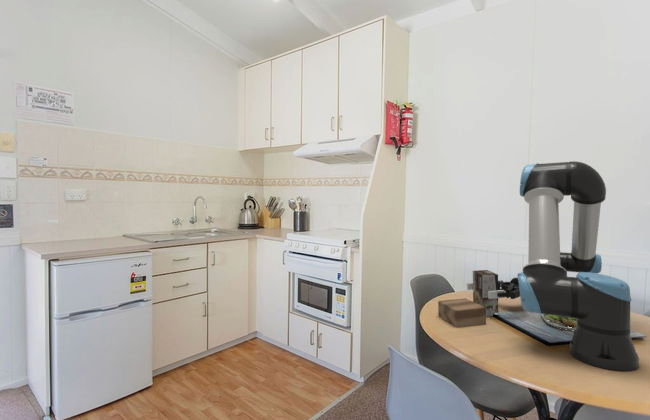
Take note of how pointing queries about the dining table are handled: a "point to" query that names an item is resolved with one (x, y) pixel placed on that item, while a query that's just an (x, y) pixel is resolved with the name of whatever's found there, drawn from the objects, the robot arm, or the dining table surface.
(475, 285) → the coffee box
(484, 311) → the walnut stand
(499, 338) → the dining table surface
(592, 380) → the dining table surface
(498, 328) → the dining table surface
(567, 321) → the salad plate
